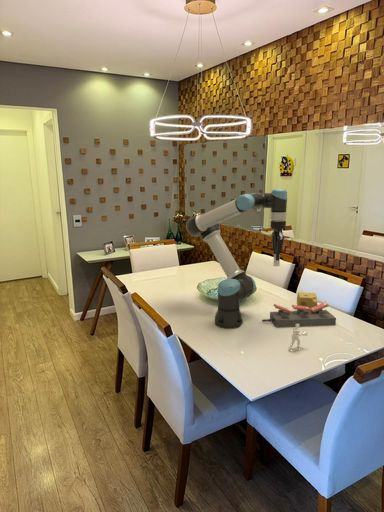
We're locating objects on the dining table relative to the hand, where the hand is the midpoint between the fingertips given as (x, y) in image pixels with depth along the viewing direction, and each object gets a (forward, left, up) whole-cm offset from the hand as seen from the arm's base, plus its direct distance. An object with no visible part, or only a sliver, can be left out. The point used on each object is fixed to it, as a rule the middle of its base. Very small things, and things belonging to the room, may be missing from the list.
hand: (276, 265), depth 182 cm
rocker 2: (+16, +5, -26) cm, 31 cm away
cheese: (+25, +17, -33) cm, 44 cm away
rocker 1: (+6, +5, -26) cm, 27 cm away
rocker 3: (+27, +5, -26) cm, 37 cm away
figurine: (+2, -28, -33) cm, 43 cm away
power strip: (+13, +2, -32) cm, 35 cm away
